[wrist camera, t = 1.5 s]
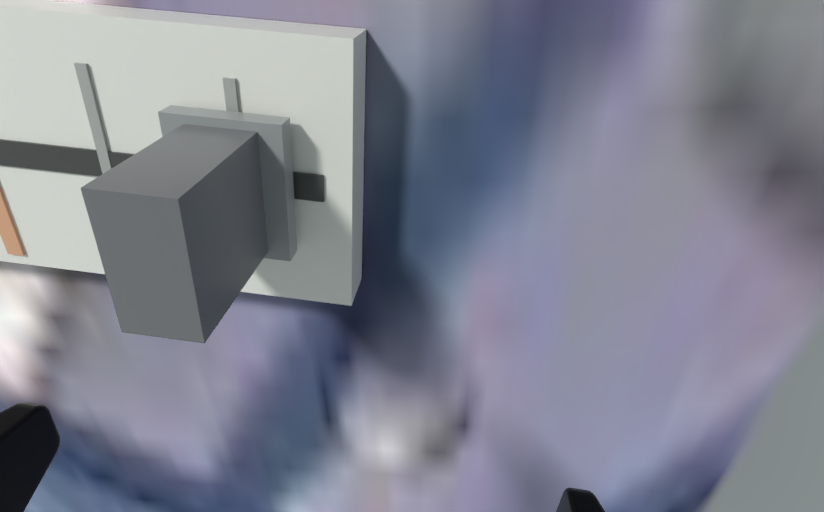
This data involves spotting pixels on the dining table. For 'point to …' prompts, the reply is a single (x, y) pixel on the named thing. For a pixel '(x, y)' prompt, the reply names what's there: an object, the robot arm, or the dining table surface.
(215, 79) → the fader console
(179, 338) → the fader slider
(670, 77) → the dining table surface
